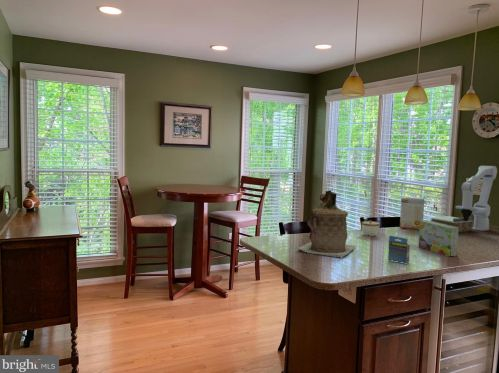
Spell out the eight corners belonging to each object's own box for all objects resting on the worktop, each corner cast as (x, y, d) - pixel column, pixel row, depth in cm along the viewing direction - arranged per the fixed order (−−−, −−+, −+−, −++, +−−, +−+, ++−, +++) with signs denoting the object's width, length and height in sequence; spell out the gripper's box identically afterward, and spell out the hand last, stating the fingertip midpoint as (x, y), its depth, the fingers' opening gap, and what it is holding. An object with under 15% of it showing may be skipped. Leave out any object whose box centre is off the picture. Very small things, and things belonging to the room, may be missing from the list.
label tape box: (409, 263, 185) (410, 237, 184) (406, 264, 182) (407, 238, 181) (390, 259, 191) (392, 234, 190) (387, 261, 188) (388, 235, 186)
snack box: (417, 247, 216) (419, 220, 215) (425, 246, 218) (427, 219, 217) (449, 257, 197) (451, 227, 195) (457, 256, 199) (459, 227, 197)
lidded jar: (380, 237, 240) (381, 222, 239) (362, 236, 241) (362, 221, 240) (377, 233, 250) (378, 219, 249) (359, 232, 252) (360, 218, 251)
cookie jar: (357, 249, 210) (359, 189, 207) (342, 259, 189) (345, 193, 186) (313, 242, 222) (315, 186, 219) (295, 252, 201) (297, 189, 198)
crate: (447, 225, 282) (447, 217, 282) (471, 230, 267) (472, 221, 266) (430, 227, 274) (431, 219, 273) (455, 232, 258) (455, 223, 258)
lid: (447, 217, 282) (448, 213, 282) (472, 221, 266) (472, 217, 266) (431, 218, 273) (431, 214, 273) (455, 223, 257) (456, 219, 257)
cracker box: (422, 229, 269) (424, 198, 267) (421, 230, 264) (423, 199, 262) (401, 226, 276) (403, 196, 274) (399, 227, 271) (401, 197, 269)
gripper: (453, 199, 264) (451, 219, 265) (474, 202, 251) (473, 223, 252) (459, 199, 267) (458, 218, 268) (481, 201, 255) (479, 222, 256)
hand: (465, 220), depth 261 cm, fingers closed
